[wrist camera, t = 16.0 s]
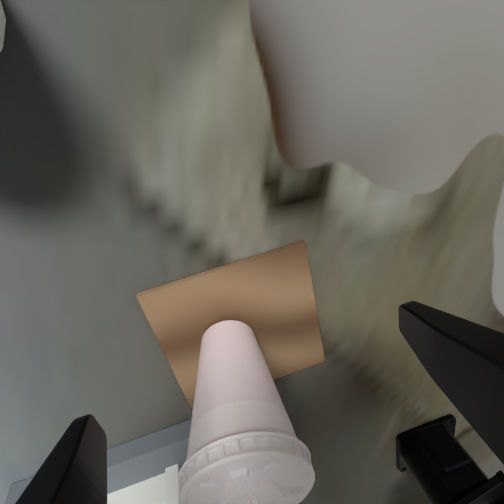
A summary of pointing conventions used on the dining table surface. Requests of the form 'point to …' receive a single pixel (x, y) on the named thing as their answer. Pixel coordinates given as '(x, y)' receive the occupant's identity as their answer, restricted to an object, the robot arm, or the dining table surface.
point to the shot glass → (2, 26)
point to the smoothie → (240, 429)
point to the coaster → (240, 312)
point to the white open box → (140, 468)
